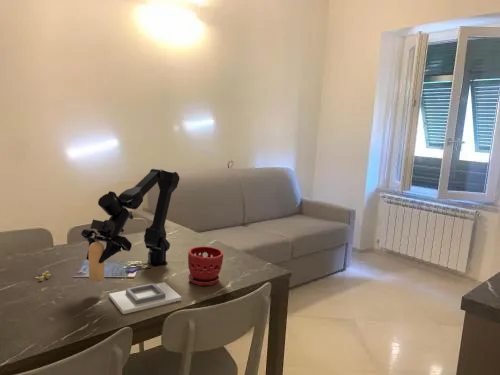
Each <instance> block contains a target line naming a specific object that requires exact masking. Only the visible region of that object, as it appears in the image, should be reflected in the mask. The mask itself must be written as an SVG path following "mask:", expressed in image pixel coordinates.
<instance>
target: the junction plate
mask: <svg viewBox="0 0 500 375" xmlns="http://www.w3.org/2000/svg"><path fill="white" fill-rule="evenodd" d="M108 295H109V299H110V300H111V301H112V302H113V303H114V305H115V306H116V308H117V309H118V310H119V311H120V312H121V313H122V315H125V314H129V313H134V312H138V311H143V310H147V309H151V308H156V307H159V306H163V305H164V306H165V305H169V304H172V302H173V303H176V301H177V302H180V301H182V296H181V295H180V294H178V293H177V292H176V291H175V290H174V289H172V288H171V287H170V286H169V285H168V284H167V283H166V282H160V283H154V282H151V283H147V284H142V285H138V286H133V287H128V288H125V290H122V291H121V290H120V291H116V292H112V293H111V292H110V293H109V294H108Z"/></svg>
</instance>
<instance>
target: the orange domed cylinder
mask: <svg viewBox="0 0 500 375" xmlns="http://www.w3.org/2000/svg"><path fill="white" fill-rule="evenodd" d="M88 248H89V260H88V280H89V281H90V282H100V281H103V280H105V261H104V262H102V263H101V264H100V263H99V259H100V257H101V255H102V254H103V252H104V250H105V246H104V244H103V243H101V241H99V242H94V243H92V244H91V245H90V246H89V245H88Z"/></svg>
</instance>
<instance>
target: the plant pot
mask: <svg viewBox="0 0 500 375" xmlns="http://www.w3.org/2000/svg"><path fill="white" fill-rule="evenodd" d="M204 253H206V254H207V256H206V257H205V256H203V254H204ZM187 255H188V256H187V265H188V270H189V274H188V280H189V281H190V282H191V283H192V284H195V285H197V286H203V287H204V286H211V285H215V284H216V283H217V282H218V281H219V279H220V276H219V274H220V272H221V270H222V266H223V260H224V252H223V251H222V250H221V249H220V248H216V247H212V246H195V247H192V248H190V249H189V250H188V254H187Z"/></svg>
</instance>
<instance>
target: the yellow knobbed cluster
mask: <svg viewBox="0 0 500 375" xmlns="http://www.w3.org/2000/svg"><path fill="white" fill-rule="evenodd" d="M41 275H42V276H35V280H36V279H37V280H39V282H44V281H45V278H46V279H47V280H50V279H51V278H52V277H51V276H52V275H51V273H49V270H46V271H44V272H43V273H41Z"/></svg>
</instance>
